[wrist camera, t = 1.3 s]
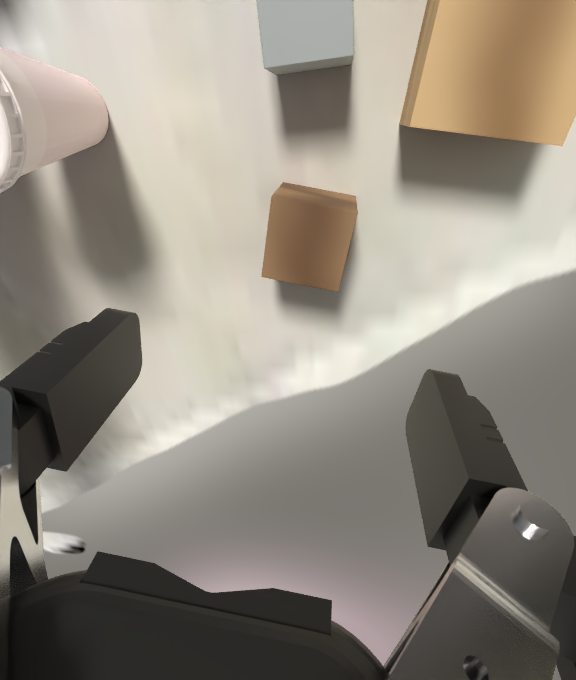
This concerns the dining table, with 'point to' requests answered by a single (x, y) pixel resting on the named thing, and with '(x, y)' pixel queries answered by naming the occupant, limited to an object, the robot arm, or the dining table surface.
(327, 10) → the slate-grey cube
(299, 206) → the walnut cube
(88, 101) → the smoothie
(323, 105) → the dining table surface
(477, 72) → the teak block
